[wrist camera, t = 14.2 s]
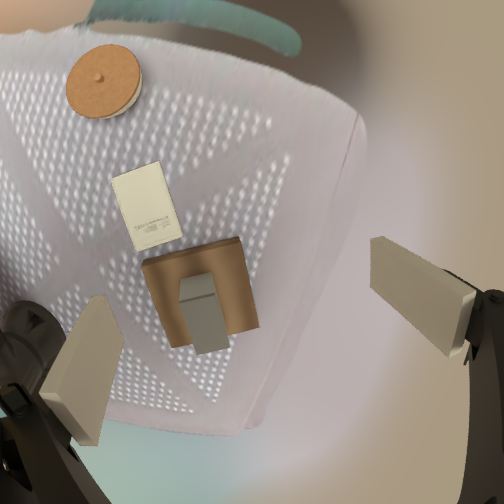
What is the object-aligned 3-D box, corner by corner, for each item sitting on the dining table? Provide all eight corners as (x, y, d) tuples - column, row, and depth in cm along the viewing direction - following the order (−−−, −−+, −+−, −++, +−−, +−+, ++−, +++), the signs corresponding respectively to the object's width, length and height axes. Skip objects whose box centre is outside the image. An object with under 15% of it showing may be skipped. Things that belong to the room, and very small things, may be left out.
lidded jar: (72, 102, 36) (46, 93, 28) (113, 48, 35) (97, 28, 26) (118, 135, 40) (100, 132, 31) (162, 80, 38) (154, 63, 30)
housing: (195, 326, 49) (197, 354, 42) (180, 279, 46) (178, 303, 39) (224, 319, 50) (230, 347, 42) (211, 271, 47) (215, 295, 39)
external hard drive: (160, 160, 43) (183, 234, 48) (112, 178, 42) (137, 249, 47) (158, 160, 42) (183, 237, 46) (109, 179, 41) (135, 252, 45)
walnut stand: (172, 338, 53) (171, 348, 50) (143, 260, 47) (141, 266, 44) (256, 318, 54) (259, 327, 52) (238, 236, 49) (240, 242, 46)
